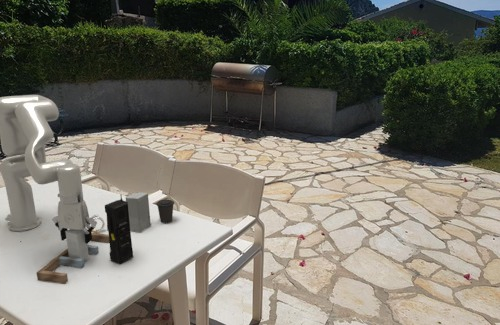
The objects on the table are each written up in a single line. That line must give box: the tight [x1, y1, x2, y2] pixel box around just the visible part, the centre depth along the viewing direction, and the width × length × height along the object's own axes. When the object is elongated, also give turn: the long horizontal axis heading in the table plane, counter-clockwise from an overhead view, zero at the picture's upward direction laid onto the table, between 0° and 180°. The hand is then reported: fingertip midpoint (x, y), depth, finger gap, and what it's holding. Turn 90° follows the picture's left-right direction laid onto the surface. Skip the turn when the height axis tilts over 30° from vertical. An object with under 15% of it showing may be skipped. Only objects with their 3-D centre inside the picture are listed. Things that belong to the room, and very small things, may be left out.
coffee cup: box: [156, 199, 175, 224], centre depth 172 cm, size 8×8×10 cm
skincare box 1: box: [65, 229, 90, 262], centre depth 139 cm, size 6×4×12 cm
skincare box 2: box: [125, 191, 152, 233], centre depth 164 cm, size 8×7×16 cm
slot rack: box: [36, 232, 110, 285], centre depth 140 cm, size 10×30×3 cm, turn 170°
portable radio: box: [104, 195, 134, 265], centre depth 137 cm, size 8×6×25 cm
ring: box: [89, 214, 106, 234], centre depth 160 cm, size 7×3×8 cm, turn 120°
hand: (76, 240), depth 139 cm, fingers open, 9 cm apart
